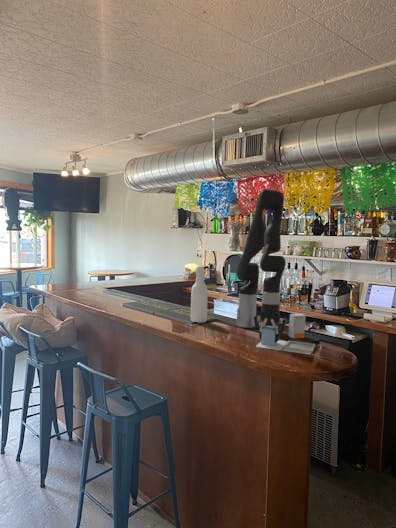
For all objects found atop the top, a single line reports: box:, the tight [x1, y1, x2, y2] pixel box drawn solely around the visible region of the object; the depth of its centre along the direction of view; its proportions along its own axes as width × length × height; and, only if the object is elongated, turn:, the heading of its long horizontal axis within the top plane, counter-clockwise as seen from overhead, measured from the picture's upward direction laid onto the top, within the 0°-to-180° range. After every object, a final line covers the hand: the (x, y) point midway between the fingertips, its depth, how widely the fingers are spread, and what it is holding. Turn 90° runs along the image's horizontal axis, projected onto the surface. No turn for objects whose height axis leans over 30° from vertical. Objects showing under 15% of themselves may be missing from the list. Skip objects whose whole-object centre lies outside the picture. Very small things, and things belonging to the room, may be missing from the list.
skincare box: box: [288, 313, 307, 339], centre depth 183 cm, size 6×4×12 cm
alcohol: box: [190, 265, 209, 324], centre depth 214 cm, size 9×9×30 cm
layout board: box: [255, 339, 316, 356], centre depth 168 cm, size 23×15×6 cm, turn 67°
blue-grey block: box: [260, 326, 277, 346], centre depth 170 cm, size 6×6×7 cm
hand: (268, 340), depth 170 cm, fingers closed on blue-grey block, 5 cm apart
